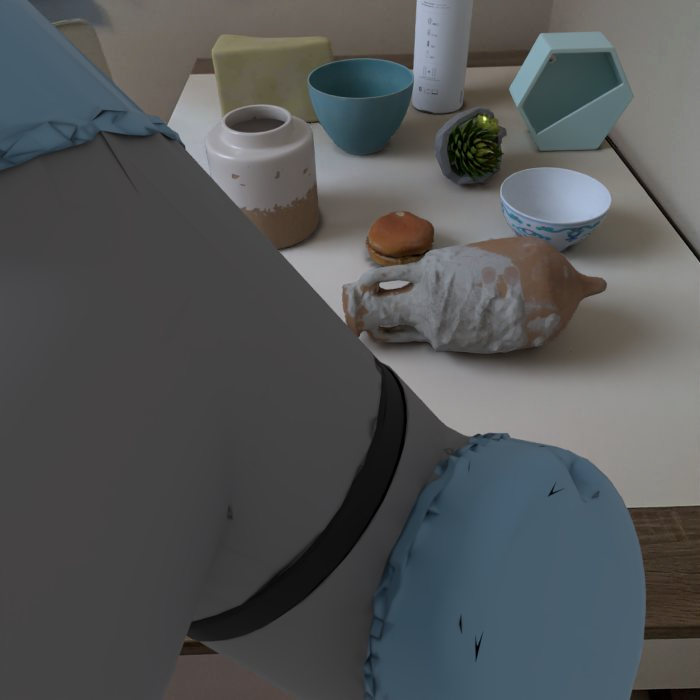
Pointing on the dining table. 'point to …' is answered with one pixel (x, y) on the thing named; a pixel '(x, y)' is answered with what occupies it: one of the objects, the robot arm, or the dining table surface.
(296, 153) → the vase
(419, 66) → the white tall cylinder
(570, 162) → the dining table surface
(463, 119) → the potted plant
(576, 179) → the chinaware
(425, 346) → the dining table surface
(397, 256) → the burger
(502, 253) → the amphora
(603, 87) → the planter
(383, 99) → the plant pot
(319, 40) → the cheese
